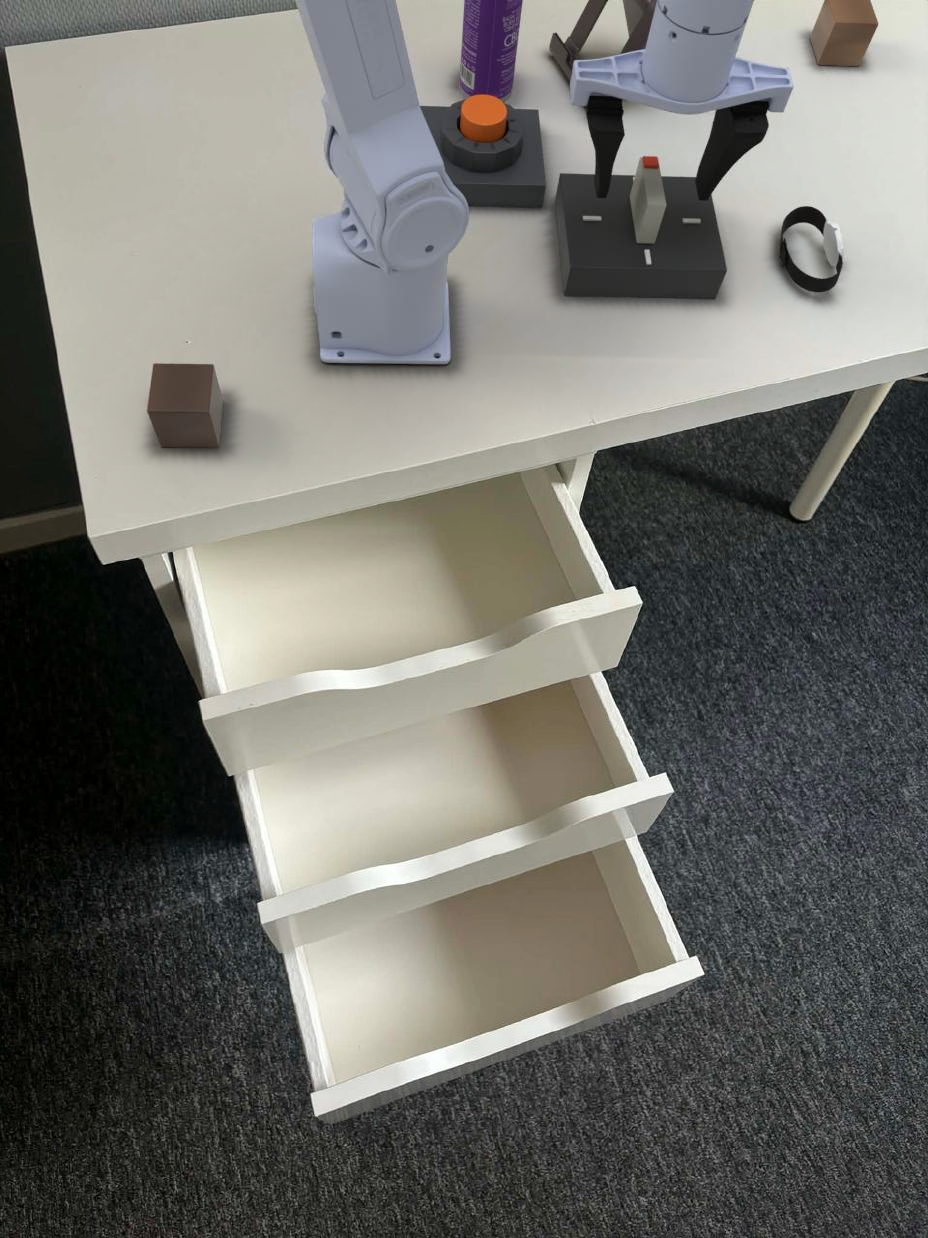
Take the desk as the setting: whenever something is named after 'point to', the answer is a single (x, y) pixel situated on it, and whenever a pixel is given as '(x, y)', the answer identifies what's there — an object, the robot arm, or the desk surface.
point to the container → (489, 47)
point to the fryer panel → (610, 255)
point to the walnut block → (185, 405)
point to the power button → (483, 118)
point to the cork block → (843, 32)
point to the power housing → (492, 158)
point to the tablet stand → (637, 13)
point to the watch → (831, 245)
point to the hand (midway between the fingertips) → (650, 189)
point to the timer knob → (647, 200)
